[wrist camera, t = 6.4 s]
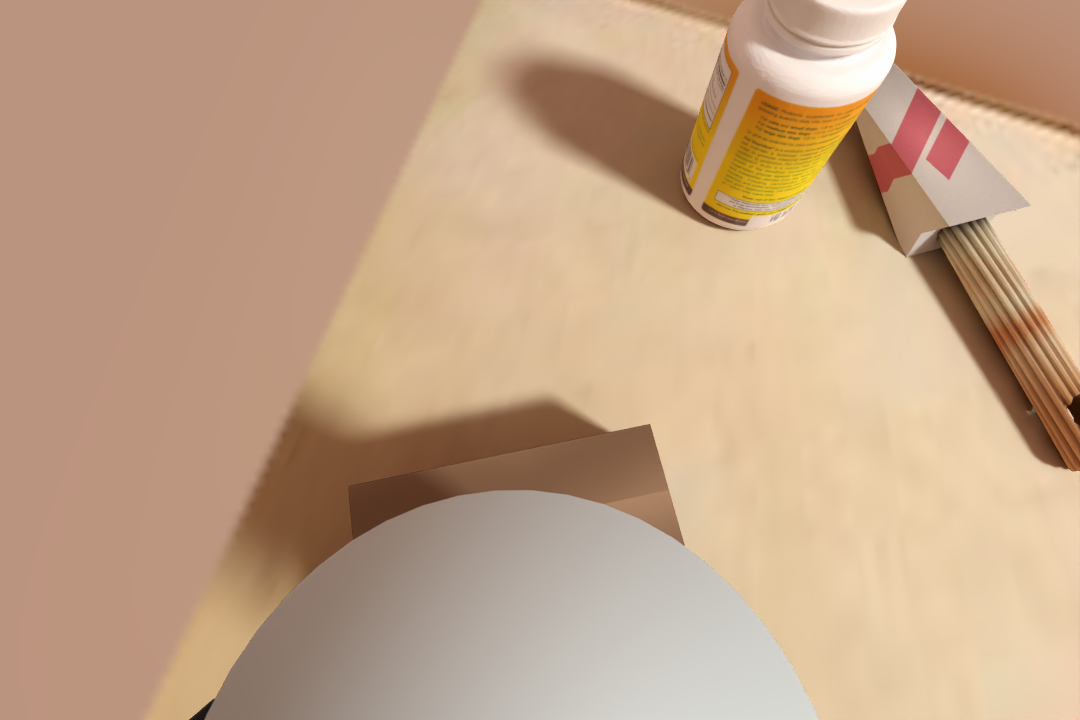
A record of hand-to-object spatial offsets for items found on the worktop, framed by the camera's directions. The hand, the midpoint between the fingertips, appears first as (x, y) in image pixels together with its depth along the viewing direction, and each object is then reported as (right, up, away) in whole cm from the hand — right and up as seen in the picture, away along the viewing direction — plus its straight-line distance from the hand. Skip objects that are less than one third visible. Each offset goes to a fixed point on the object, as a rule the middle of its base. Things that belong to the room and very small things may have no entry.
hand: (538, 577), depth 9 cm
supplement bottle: (+9, +12, +17) cm, 23 cm away
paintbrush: (+18, +8, +16) cm, 26 cm away
